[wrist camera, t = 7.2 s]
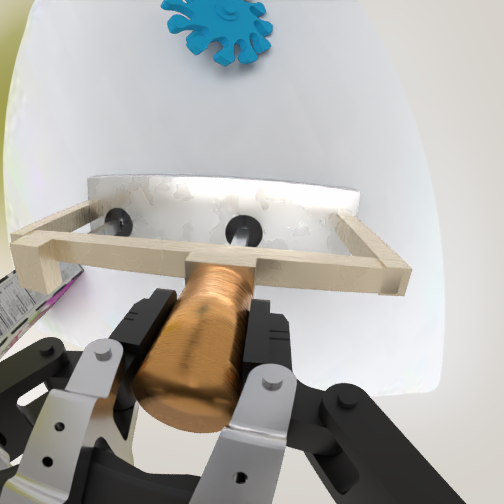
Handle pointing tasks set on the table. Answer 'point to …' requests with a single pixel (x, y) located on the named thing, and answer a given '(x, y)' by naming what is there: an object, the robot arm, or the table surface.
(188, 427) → the cylinder
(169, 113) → the table surface
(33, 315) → the candy bar box
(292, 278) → the divider frame
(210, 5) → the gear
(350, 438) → the robot arm
